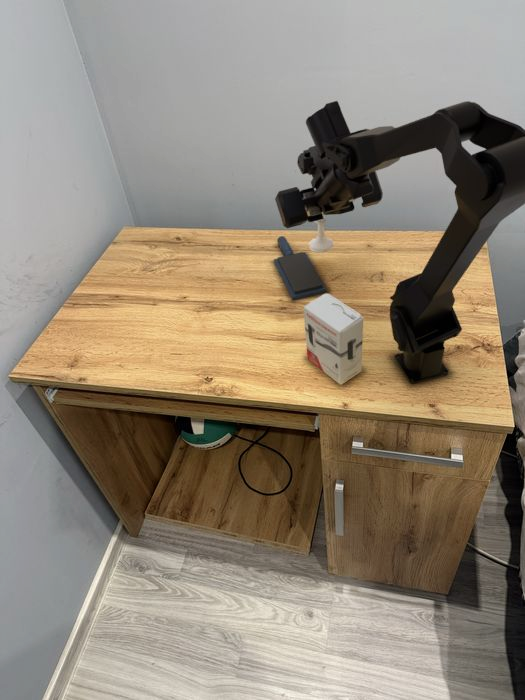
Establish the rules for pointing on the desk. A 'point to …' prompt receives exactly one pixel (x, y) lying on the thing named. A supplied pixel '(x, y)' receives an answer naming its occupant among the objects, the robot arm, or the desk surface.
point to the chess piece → (321, 239)
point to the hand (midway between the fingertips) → (317, 213)
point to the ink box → (334, 337)
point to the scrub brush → (298, 272)
